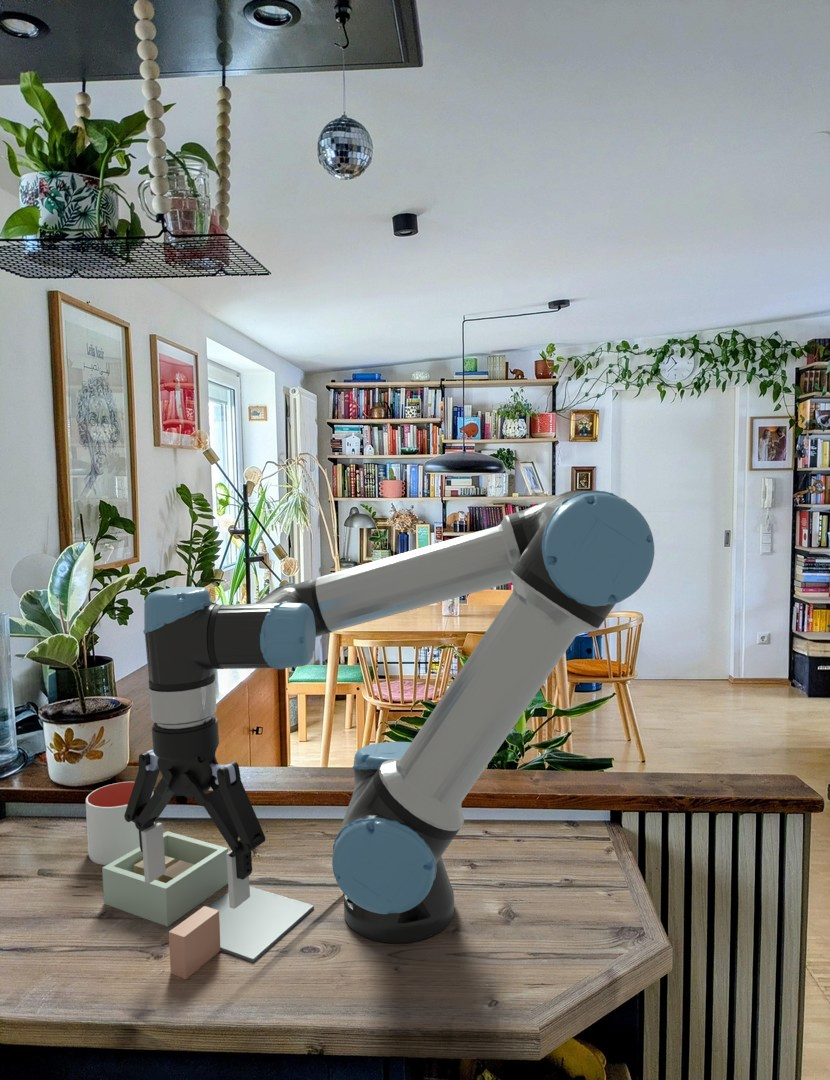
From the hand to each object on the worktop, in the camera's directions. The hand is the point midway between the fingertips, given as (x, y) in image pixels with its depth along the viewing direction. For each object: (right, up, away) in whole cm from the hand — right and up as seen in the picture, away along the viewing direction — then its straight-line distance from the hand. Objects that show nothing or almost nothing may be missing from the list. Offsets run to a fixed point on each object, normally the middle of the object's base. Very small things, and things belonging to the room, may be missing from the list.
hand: (196, 889), depth 92 cm
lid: (+3, -10, +7) cm, 12 cm away
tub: (-9, -9, +16) cm, 21 cm away
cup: (-20, -8, +29) cm, 36 cm away
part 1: (-11, -8, +17) cm, 22 cm away
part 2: (-7, -8, +15) cm, 18 cm away
